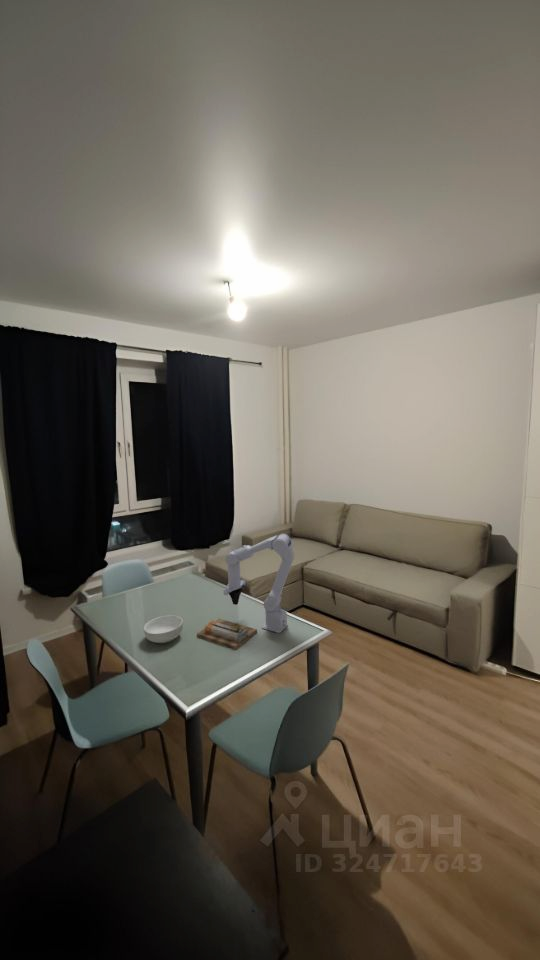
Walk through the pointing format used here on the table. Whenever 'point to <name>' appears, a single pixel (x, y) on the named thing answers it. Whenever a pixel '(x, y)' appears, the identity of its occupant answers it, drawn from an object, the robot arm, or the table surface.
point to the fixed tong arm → (226, 633)
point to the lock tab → (236, 627)
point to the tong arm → (224, 626)
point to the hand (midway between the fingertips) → (235, 603)
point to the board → (222, 640)
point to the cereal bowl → (163, 628)
